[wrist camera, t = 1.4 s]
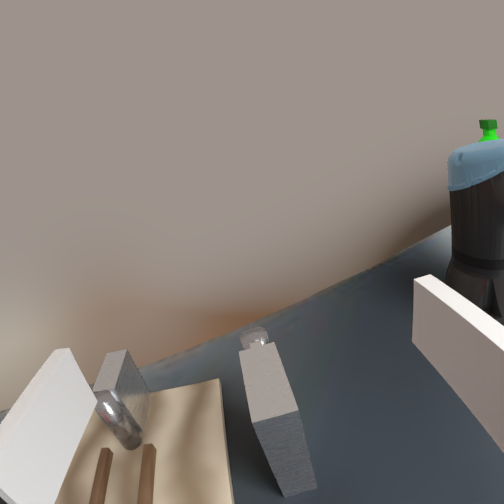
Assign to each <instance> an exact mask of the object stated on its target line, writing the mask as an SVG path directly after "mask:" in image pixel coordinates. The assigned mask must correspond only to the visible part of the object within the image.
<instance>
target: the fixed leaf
mask: <svg viewBox="0 0 504 504" xmlns="http://www.w3.org/2000/svg"><path fill="white" fill-rule="evenodd" d="M92 392H93V394H94V396H95V397H96V399H97V401H98V402H97V404H96V406H95V408H94V410H95V411H96V412H97V414H98V415H99V416H100V418H101V419H102V421H103V422H104V423H105V425H106V426H107V427H108V428H109V430H110V431H111V432H112V434H113V435H114V436H115V437H116V439H117V440H118V441H119V442H120V444H121V445H122V446H123V447H124V448H125V449H126V450H134V449H136V448H138V447H139V446H140V445H141V443H142V437H141V436H140V435H139V434H144V433H145V428H146V421H147V415H148V408H149V402H150V396H151V392H150V390H149V388H148V386H147V385H146V383H145V381H144V379H143V377H142V376H141V374H140V372H139V370H138V368H137V367H136V365H135V363H134V361H133V359H132V357H131V355H130V353H129V352H128V349H125V350H120V351H115V352H111V353H107V354H106V357H105V359H104V361H103V364H102V366H101V369H100V371H99V374H98V377H97V379H96V381H95V384H94V387H93V389H92Z"/></svg>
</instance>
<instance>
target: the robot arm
mask: <svg viewBox="0 0 504 504" xmlns="http://www.w3.org/2000/svg"><path fill="white" fill-rule="evenodd" d="M447 187H448V190H449V191H450V206H451V229H452V256H451V260H450V263H449V266H448V269H447V273H446V277H445V280H444V281H443V282H441V281H440V280H438V279H437V278H435V277H434V276H432V275H431V274H430V275H426V276H423V277H419V278H416V279H414V306H413V332H412V342H413V343H414V344H415V346H416V347H417V348H418V349H419V350H420V351H421V352H422V354H423V355H424V356H425V357H426V358H427V359H428V360H429V362H430V363H431V364H432V365H433V366H434V367H435V369H436V370H437V371H438V372H439V373H440V374H441V376H442V377H443V378H444V379H445V380H446V381H447V383H448V384H449V385H450V386H451V387H452V389H453V390H454V391H455V392H456V393H457V395H458V396H459V397H460V398H461V400H462V401H463V402H464V403H465V404H466V406H467V407H468V408H469V409H470V411H471V412H472V413H473V414H474V416H475V417H476V418H477V419H478V421H479V422H480V423H481V424H482V426H483V427H484V428H485V429H486V431H487V432H488V433H489V435H490V436H491V437H492V438H493V440H494V441H495V442H496V444H497V445H498V446H499V448H500V449H501V450H502V452H503V453H504V139H496V140H489V141H483V142H478V143H474V144H470V145H466V146H463V147H460V148H458V149H456V150H454V151H453V152H452V153H451V154H450V156H449V158H448V186H447ZM97 402H98V401H97V399H96V397H95V396H94V394H93V392H92V390H91V389H90V387H89V385H88V383H87V382H86V380H85V378H84V376H83V374H82V373H81V370H80V368H79V367H78V365H77V363H76V361H75V359H74V357H73V355H72V353H71V351H70V349H69V348H65V349H56V350H54V352H53V353H52V354H51V355H50V357H49V358H48V359H47V361H46V362H45V363H44V365H43V366H42V367H41V368H40V370H39V371H38V372H37V374H36V375H35V376H34V378H33V379H32V380H31V382H30V383H29V384H28V386H27V387H26V389H25V390H24V391H23V393H22V394H21V396H20V397H19V398H18V400H17V401H16V402H15V404H14V405H13V407H12V408H11V410H10V411H9V412H8V414H7V415H6V417H5V418H4V420H3V421H2V423H1V424H0V504H55V501H56V499H57V496H58V493H59V491H60V488H61V486H62V483H63V481H64V478H65V475H66V473H67V471H68V468H69V466H70V463H71V461H72V458H73V456H74V454H75V451H76V449H77V447H78V444H79V442H80V440H81V437H82V435H83V433H84V431H85V428H86V426H87V424H88V422H89V419H90V417H91V415H92V413H93V411H94V408H95V406H96V404H97Z"/></svg>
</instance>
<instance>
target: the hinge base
mask: <svg viewBox="0 0 504 504" xmlns="http://www.w3.org/2000/svg"><path fill="white" fill-rule="evenodd" d="M139 435H140V436H141V437H142V443H141V445H140V446H139V447H138V448H136V449H134V450H126V449H125V448H124V447H123V446H122V445H121V444H120V442H119V441H118V440H117V439H116V437H115V436H114V435H113V434H112V432H111V431H110V430H109V428H108V427H107V426H106V425H105V423H104V422H103V421H102V419H101V418H100V416H99V415H98V414H97V412H96V411H95V410H94V411H93V413H92V415H91V417H90V419H89V422H88V424H87V426H86V428H85V431H84V433H83V435H82V437H81V440H80V442H79V444H78V447H77V449H76V451H75V454H74V456H73V458H72V461H71V463H70V466H69V468H68V471H67V473H66V475H65V478H64V481H63V483H62V486H61V488H60V491H59V493H58V497H57V500H56V504H234V496H233V489H232V481H231V473H230V465H229V456H228V447H227V438H226V429H225V420H224V410H223V400H222V389H221V383H220V380H219V378H218V379H214V380H210V381H205V382H201V383H196V384H192V385H187V386H182V387H177V388H172V389H167V390H162V391H157V392H151V396H150V402H149V408H148V415H147V421H146V428H145V433H144V434H139Z"/></svg>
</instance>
